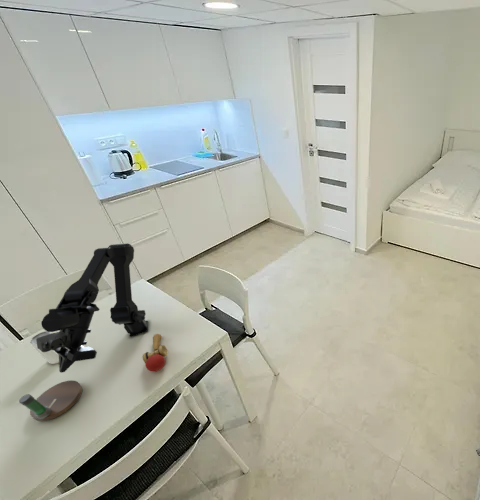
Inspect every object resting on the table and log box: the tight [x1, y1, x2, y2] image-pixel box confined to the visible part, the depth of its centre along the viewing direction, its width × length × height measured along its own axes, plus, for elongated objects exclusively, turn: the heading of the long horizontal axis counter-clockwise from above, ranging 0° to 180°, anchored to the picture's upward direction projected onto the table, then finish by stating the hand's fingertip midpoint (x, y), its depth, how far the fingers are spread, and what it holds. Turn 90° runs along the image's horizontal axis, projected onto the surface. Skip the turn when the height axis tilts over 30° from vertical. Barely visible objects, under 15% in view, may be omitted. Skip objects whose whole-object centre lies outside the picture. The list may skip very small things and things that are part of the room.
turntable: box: [18, 380, 83, 422], centre depth 94 cm, size 13×13×11 cm
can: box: [29, 330, 59, 365], centre depth 109 cm, size 6×6×12 cm
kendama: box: [141, 333, 169, 373], centre depth 111 cm, size 8×6×18 cm
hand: (62, 371), depth 93 cm, fingers closed
